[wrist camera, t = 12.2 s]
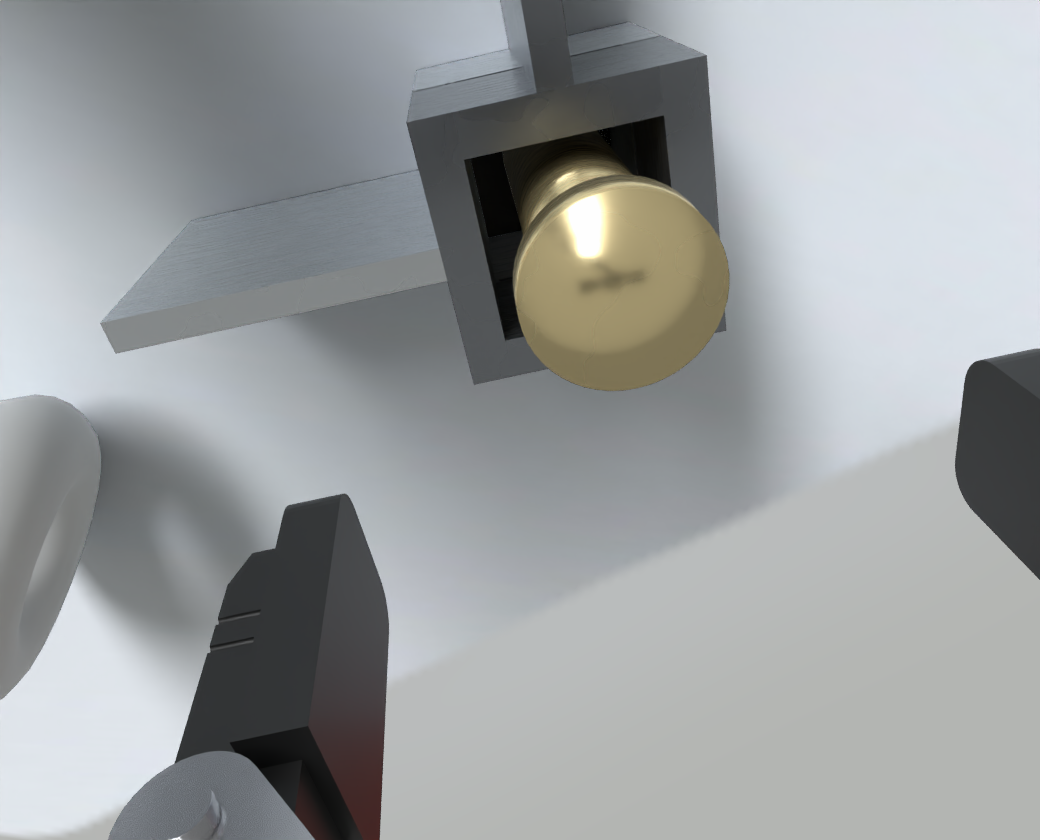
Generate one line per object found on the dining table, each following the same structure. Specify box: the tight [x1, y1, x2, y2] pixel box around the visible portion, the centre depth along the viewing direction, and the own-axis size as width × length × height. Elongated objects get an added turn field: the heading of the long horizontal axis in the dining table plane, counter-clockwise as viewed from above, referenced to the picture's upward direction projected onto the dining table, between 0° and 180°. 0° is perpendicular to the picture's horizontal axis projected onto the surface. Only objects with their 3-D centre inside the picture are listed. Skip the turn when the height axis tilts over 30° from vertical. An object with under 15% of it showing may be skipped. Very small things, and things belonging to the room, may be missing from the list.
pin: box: [503, 130, 729, 391], centre depth 20 cm, size 4×4×12 cm
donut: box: [0, 395, 101, 700], centre depth 25 cm, size 10×4×10 cm, turn 158°
